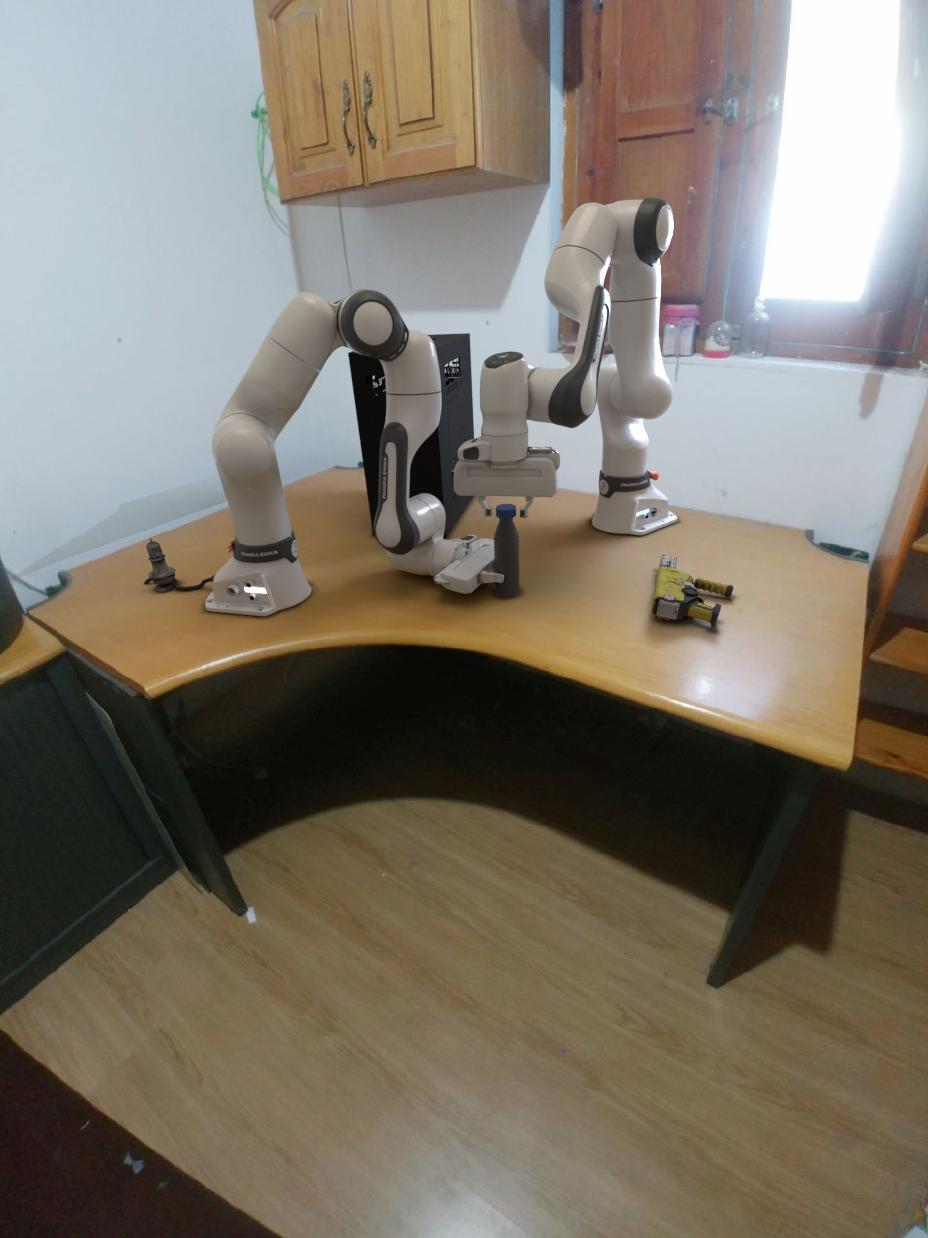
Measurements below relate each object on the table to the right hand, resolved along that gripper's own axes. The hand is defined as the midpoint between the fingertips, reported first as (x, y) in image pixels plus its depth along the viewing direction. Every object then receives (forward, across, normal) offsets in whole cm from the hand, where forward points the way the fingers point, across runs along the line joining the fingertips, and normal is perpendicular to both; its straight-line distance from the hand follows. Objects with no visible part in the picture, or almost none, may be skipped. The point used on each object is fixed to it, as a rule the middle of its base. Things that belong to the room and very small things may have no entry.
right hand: (506, 516), depth 121 cm
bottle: (+17, 0, 0) cm, 17 cm away
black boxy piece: (+17, +30, -47) cm, 58 cm away
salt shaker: (+17, +79, +6) cm, 81 cm away
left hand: (+12, -1, 0) cm, 12 cm away
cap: (-2, 0, 0) cm, 2 cm away
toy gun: (+17, -38, -1) cm, 42 cm away
